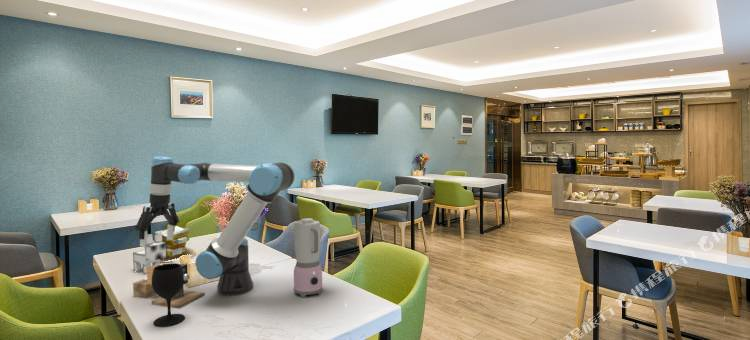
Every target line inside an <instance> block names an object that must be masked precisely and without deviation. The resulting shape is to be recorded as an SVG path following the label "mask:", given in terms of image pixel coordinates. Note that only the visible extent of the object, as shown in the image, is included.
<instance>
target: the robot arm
mask: <svg viewBox="0 0 750 340" xmlns="http://www.w3.org/2000/svg"><path fill="white" fill-rule="evenodd" d="M150 167H151V168H150V169H151V173H150V174H151V175H150V191H149V193H150V194H149V203H150V205H149V206H145V205H144V206H143V207H142V213H140V216H139V218H138V220H137V223H136V225H135V227H134V230H135V231H138V232H139V234H138V236H139V237H138V238H139V247H141V248H145V247H146V246H147V234H148V231H147V229H148V228H149V227H150V225H151V223H152V222H153V221H154V220H155V218H157V217H160V216H163V217H164V218H165V220H167V222H168V224H167V239H168V240H173V234H174V231H175V226H178V223H180V220H179V217H178V214H177V212H176V211H177V210H176V208H175V203H173V202H171V191H172V190H171V188H172V187H171V185H172V182H176V183H182V184H185V185H186V184H190V185H194V184H195V183H197V182H198V181H214V182H227V183H228V182H229V183H231V182H232V183H244V184H246V183H247V186H246V190H247V194H246V195H245V197H243V200H242V201H241V203H240V204H239V205H238V207H237V209H236V210H235V212H234V213H233V215H232V217H231V218H230V219H229V221H228V223H227V225H225V227H224V229H223V230H222V232H221V234H220V235H219V236H218V237H217V238H214V239H213V240H212V241H211V242H210V243H209V245H208V246H207V248H206V249H205V250H203V251H201V252H200V253H199V254H198V255H197V256H196V258H195V262H194V263H195V264H194V265H195V267H196V271H197V272H198V274H199V275H200V276H201V277H202V278H204V279H206V280H213V279H218V278H219V280H218V283H217V286H216V292H217V294H219V295H222V296H236V295H242V294H246V293H249V292H250V291H252V290H253V289H254V281H253V279H252V276H251V273H250V271H249V270H250V269H249V265H250V264H249V261H250V260H249V243H248V242H249V241H248V239H247V238H246V237H247V235H248V234H249V232H250V230H251V229H252V227H253V226H254V224H255V223H256V221H257V220H258V218H259V216H260V215H261V213H263V210H264V209H265V207H266V206H267V204H272V203H273V202H274V201H275V199H276V198H277V197H278V195H279V194H280V192H282V191H286V190H288V189H289V188H290V187H291V186H292V185H293V184H294V181H295V171H294V170H293V168H292V167H291V166H290V165H289V164H287V163H284V162H272V163H270V162H269V163H267V162H266V163H262V164H258V165H253V164H252V165H251V164H249V165H248V164H231V163H230V164H228V163H211V162H201V163H187V164H186V163H175V162H173V158H172V157H170V156H169V157H168V156H154V157H153V158H152V160H151V166H150Z"/></svg>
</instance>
